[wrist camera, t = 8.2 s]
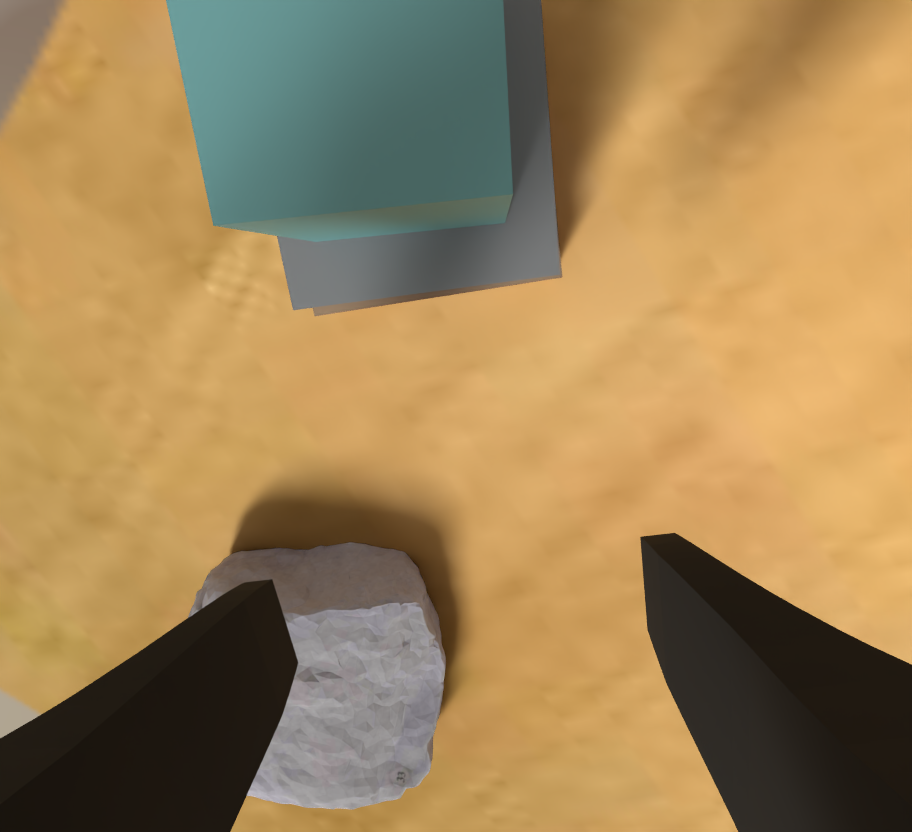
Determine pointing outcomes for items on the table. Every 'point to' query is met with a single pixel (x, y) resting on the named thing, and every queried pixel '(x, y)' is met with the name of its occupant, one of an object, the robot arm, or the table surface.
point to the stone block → (347, 672)
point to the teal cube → (348, 113)
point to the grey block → (467, 248)
